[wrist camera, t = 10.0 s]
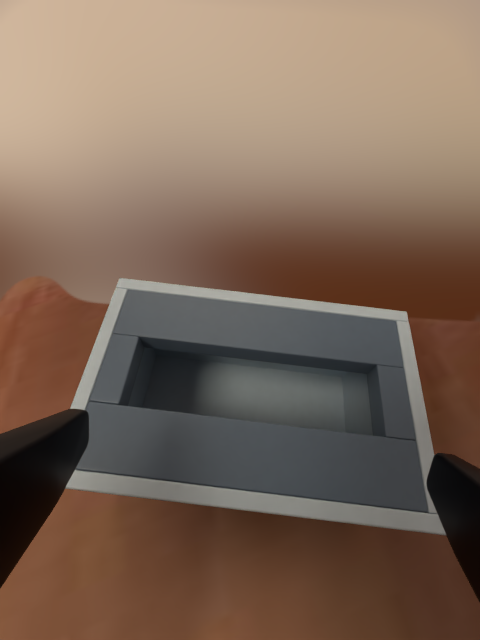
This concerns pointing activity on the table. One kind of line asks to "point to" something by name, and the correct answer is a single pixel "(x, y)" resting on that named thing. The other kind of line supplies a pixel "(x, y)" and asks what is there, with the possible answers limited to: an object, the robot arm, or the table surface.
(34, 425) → the robot arm
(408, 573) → the table surface
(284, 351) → the grey hollow block
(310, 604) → the table surface
